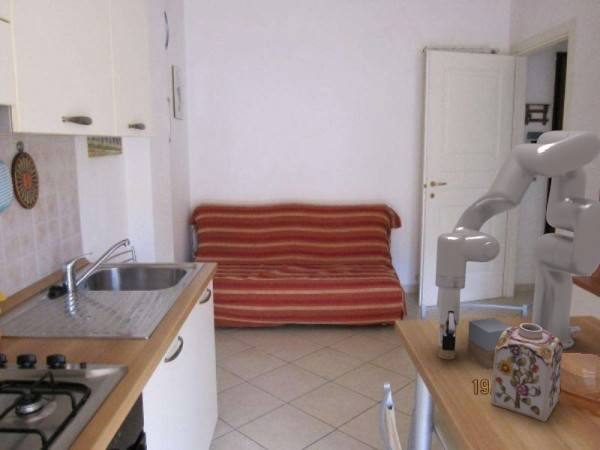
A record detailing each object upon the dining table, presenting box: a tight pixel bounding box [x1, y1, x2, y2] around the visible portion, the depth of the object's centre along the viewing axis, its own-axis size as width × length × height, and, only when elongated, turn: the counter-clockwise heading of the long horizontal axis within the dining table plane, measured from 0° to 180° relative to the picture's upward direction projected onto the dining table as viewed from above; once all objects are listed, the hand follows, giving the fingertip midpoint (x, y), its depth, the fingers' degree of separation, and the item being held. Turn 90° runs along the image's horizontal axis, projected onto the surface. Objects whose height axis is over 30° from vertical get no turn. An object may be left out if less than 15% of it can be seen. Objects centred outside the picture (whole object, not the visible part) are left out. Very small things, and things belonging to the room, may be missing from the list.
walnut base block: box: [467, 338, 495, 369], centre depth 132 cm, size 8×8×5 cm
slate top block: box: [467, 317, 512, 351], centre depth 131 cm, size 8×8×5 cm
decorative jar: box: [490, 322, 564, 423], centre depth 109 cm, size 12×12×18 cm
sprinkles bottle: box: [437, 322, 457, 361], centre depth 133 cm, size 5×5×14 cm
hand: (446, 343), depth 133 cm, fingers open, 6 cm apart
